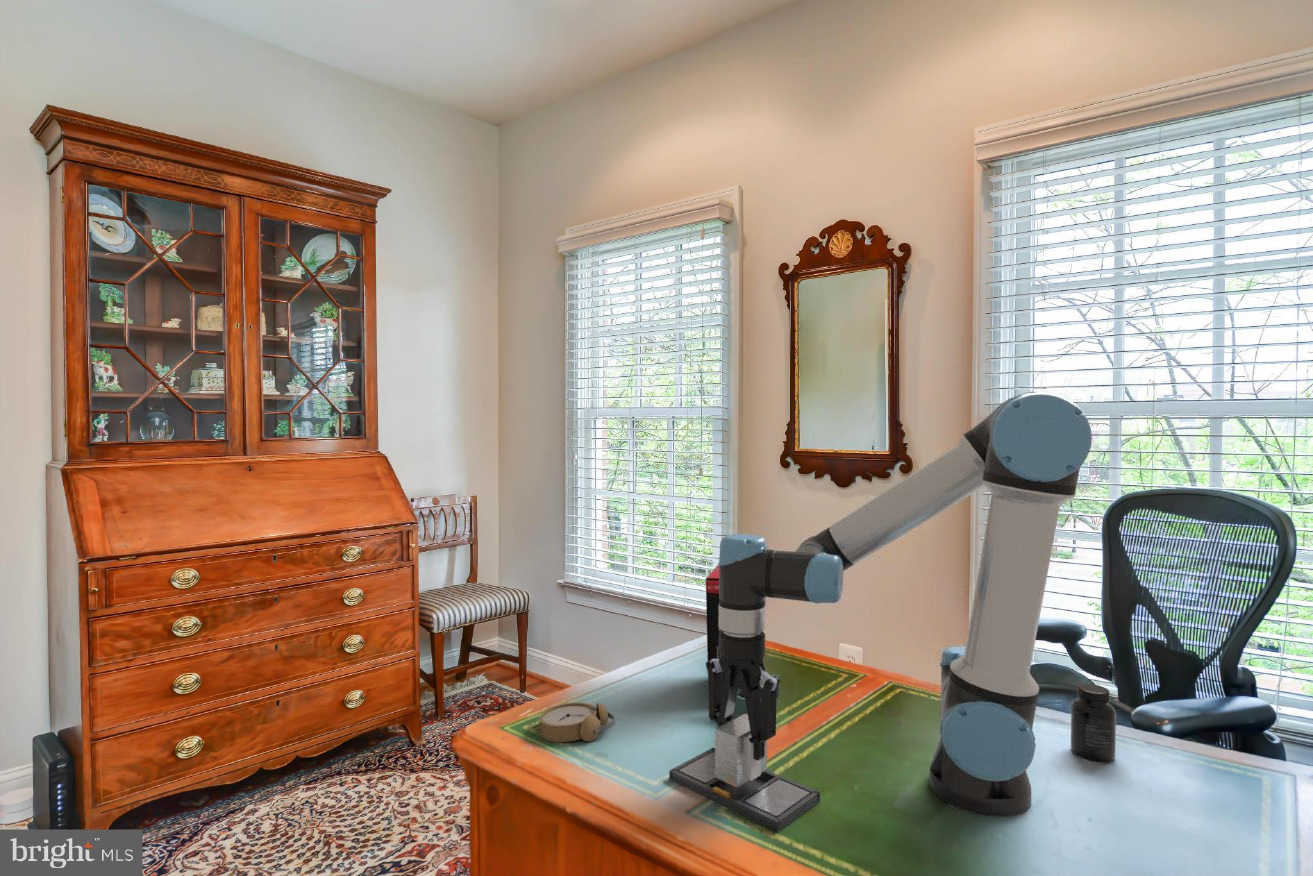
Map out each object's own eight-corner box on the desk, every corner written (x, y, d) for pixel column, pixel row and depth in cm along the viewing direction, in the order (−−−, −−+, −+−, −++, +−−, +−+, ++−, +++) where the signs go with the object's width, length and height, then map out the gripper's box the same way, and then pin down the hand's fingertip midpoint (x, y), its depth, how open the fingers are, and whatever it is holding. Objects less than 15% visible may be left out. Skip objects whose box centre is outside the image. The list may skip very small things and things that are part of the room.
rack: (819, 801, 113) (819, 789, 113) (778, 832, 105) (778, 818, 105) (713, 755, 128) (713, 744, 128) (669, 779, 120) (669, 767, 120)
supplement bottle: (1070, 742, 133) (1071, 678, 132) (1114, 750, 129) (1115, 685, 129) (1070, 757, 127) (1071, 691, 126) (1116, 767, 123) (1117, 698, 123)
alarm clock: (551, 702, 146) (619, 695, 142) (555, 725, 146) (624, 720, 142) (528, 725, 135) (602, 719, 132) (533, 751, 135) (607, 745, 132)
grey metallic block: (766, 769, 118) (767, 721, 118) (737, 787, 112) (737, 737, 112) (745, 760, 121) (745, 713, 121) (715, 777, 115) (715, 728, 115)
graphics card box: (737, 707, 149) (737, 578, 148) (705, 704, 151) (704, 577, 150) (748, 678, 166) (748, 562, 165) (719, 675, 168) (718, 560, 167)
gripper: (800, 637, 112) (799, 782, 113) (715, 615, 125) (714, 746, 125) (773, 648, 107) (772, 800, 108) (686, 624, 119) (685, 761, 120)
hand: (741, 771), depth 117 cm, fingers closed on grey metallic block, 4 cm apart
